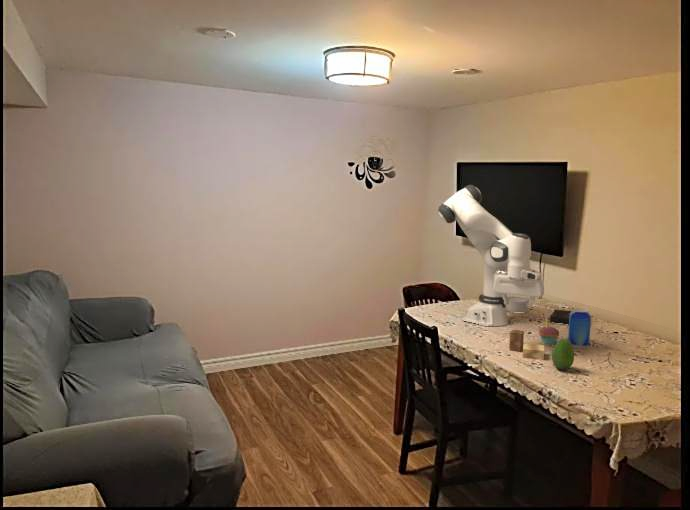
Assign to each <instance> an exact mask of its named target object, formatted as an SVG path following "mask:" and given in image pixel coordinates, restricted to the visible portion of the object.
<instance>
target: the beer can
mask: <svg viewBox="0 0 690 510" xmlns="http://www.w3.org/2000/svg"><path fill="white" fill-rule="evenodd" d="M570 311H571V313H570V316H569V325H568V334H567V335H568V338H567V339H568V340H570V341H571V343H572V347H573V349H574V348H575V349H587V348H588V347H589V346H590V340H591V339H590V337H591V323H592V315H591V313H590V310H589V309H588V308H587V309H586V308H582V307H581V308H580V307H576V308H575V307H574V308H572V310H570Z"/></svg>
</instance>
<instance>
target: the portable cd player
mask: <svg viewBox="0 0 690 510" xmlns="http://www.w3.org/2000/svg"><path fill="white" fill-rule="evenodd" d="M571 311H572V310H567V309H565V310H564V309H554V310H553V311H552V312H551V314H550V315H549V316H550V317H549V323H550V322H554V323H553V324H555V323H563V324H568V325H567V326H569V316H570V313H571ZM563 324H562V325H563Z"/></svg>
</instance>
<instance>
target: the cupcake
mask: <svg viewBox="0 0 690 510" xmlns="http://www.w3.org/2000/svg"><path fill="white" fill-rule="evenodd" d="M548 321H549V320H548V318H547V316H545V326H543V327H540V328H539V329H538V335H539V336H540V337H541V341H542V343H543V344H544V345H554V344H555V342H556V340H557V338H558V337H559V336H560V332H559V330H558V329H557V328H556V327H554V326H549V323H548Z"/></svg>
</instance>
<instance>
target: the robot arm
mask: <svg viewBox="0 0 690 510" xmlns="http://www.w3.org/2000/svg"><path fill="white" fill-rule="evenodd" d="M482 200H483V196H482V193H481V191H480V189H479V188H478V187H477V186H475V185H473V184H468V185H466V186H464V188H462V189H460V190H458V191H456V192H455V193H454V194H453V195H452V196H450V197H448V199H447V200H445V201H444V202H443V203H442V204H440V205H439V207H438V210H437V212H438V215H439V216H440V217H439V218H440V219H441V220H442V221H444V222H445V223H447V224H453V223H454V222H457V224H458V225H459V227H460V228H461V230H462V231H463V233H464V234H465V236H466V237H467V239H469V241H470V243H471V244H472V245H473V247H474V248H475V249H476V250H477V252H478V253H479V254H480V255H481V257H482V258H483V262H484V263H483V264H484V265H483V282H482V284H483V285H482V293H480V295H478V298H477V299H478V301H477V302H475V303H474V304H473V305H471V306H470V307H469V308H468V309H467V310H466V311H467V312H466V315H464V316H463V317H462V318H461V321H462V320H463V321H462V322H464V321H468V322H472V323H471V324H473V323H476V324H475V325H478V324H479V326H483V327H488V326H489V327H498V326H499V327H501V326H506V325H508V324H509V322H508V317H507V310H506V304H509V300H507V297H508V296H507V295H511V296H520V297H529V300H530V302H528V303H527V307H528V308H532V304H533V301H535V298H542V297H543V296H544V295H545V285H544V280H543V279H542V277H543V274H542V272H540V271H537V270H535V269H533V268H531V262H530V260H531V256H532V242H531V238H530V236H528V235H527V234H525V233H520V232H513V231H512V230H511V229H510V228H509V227H508V226H507V225H505V223H503V222H502V221H501V220H500V219H498V218H497V217H495V216H493V214H491V213H489V212H488V211H487V209H485V208H484V207H483V206H482V205H481V202H482ZM468 322H467V323H468Z"/></svg>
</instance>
